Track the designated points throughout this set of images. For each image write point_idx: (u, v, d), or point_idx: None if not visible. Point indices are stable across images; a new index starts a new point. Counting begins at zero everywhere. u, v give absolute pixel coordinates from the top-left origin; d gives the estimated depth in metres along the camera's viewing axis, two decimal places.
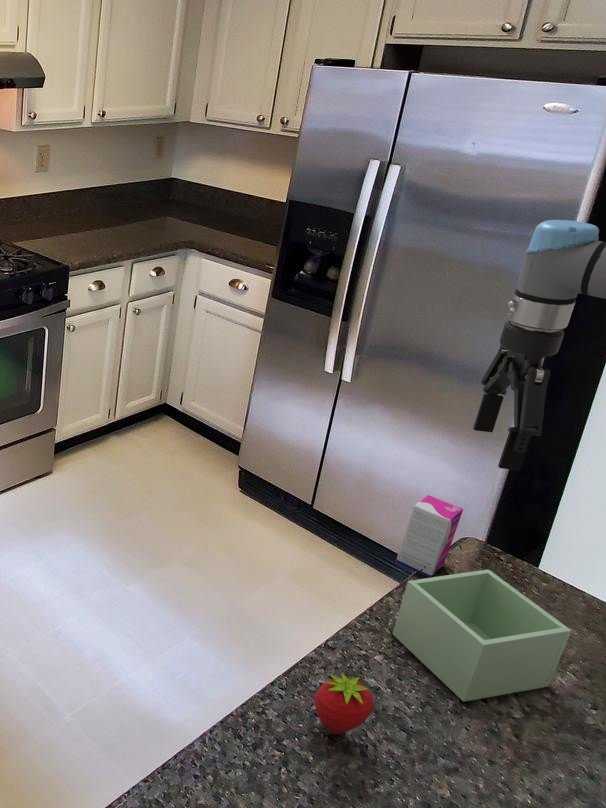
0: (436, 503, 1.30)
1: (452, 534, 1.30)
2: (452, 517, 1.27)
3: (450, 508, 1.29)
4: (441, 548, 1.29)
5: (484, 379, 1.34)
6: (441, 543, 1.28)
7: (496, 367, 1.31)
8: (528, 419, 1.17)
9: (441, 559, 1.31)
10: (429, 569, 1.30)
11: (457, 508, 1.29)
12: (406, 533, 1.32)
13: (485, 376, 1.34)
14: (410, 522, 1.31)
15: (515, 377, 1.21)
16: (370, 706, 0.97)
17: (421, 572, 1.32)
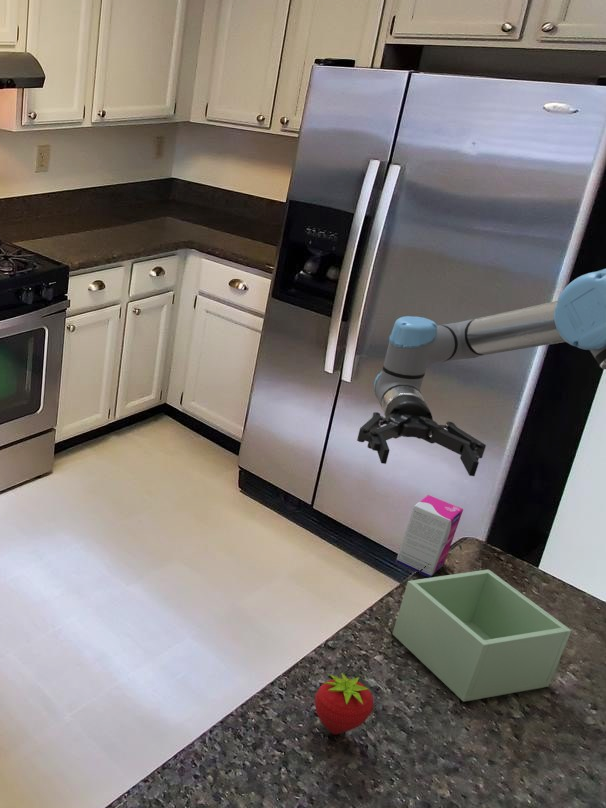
0: (436, 503, 1.30)
1: (452, 534, 1.30)
2: (452, 517, 1.27)
3: (450, 508, 1.29)
4: (441, 548, 1.29)
5: None
6: (441, 543, 1.28)
7: None
8: None
9: (441, 559, 1.31)
10: (429, 569, 1.30)
11: (457, 508, 1.29)
12: (406, 533, 1.32)
13: None
14: (410, 522, 1.31)
15: None
16: (370, 706, 0.97)
17: (421, 572, 1.32)
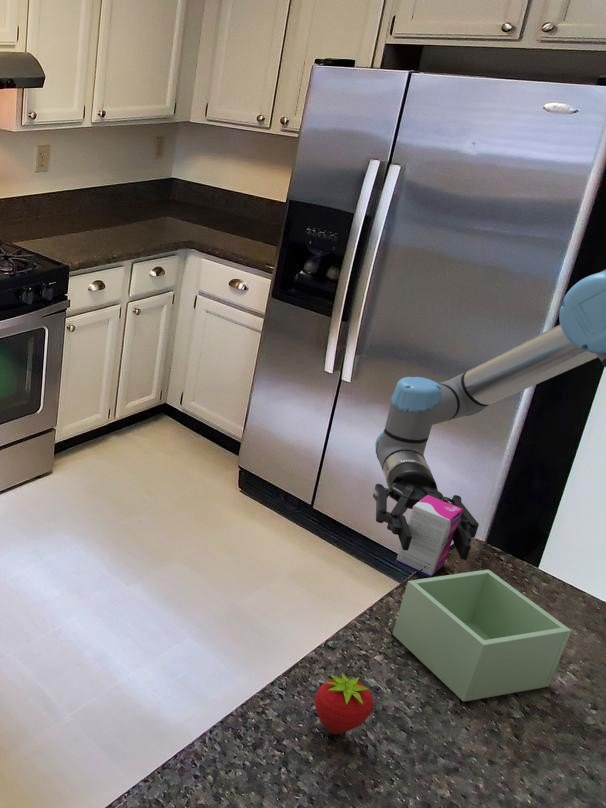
0: (435, 503, 1.30)
1: (452, 534, 1.30)
2: (452, 517, 1.27)
3: (450, 508, 1.29)
4: (441, 548, 1.29)
5: None
6: (441, 543, 1.28)
7: None
8: (376, 512, 1.38)
9: (441, 559, 1.31)
10: (429, 569, 1.30)
11: (457, 508, 1.29)
12: None
13: None
14: (410, 522, 1.31)
15: None
16: (370, 706, 0.97)
17: (421, 572, 1.32)
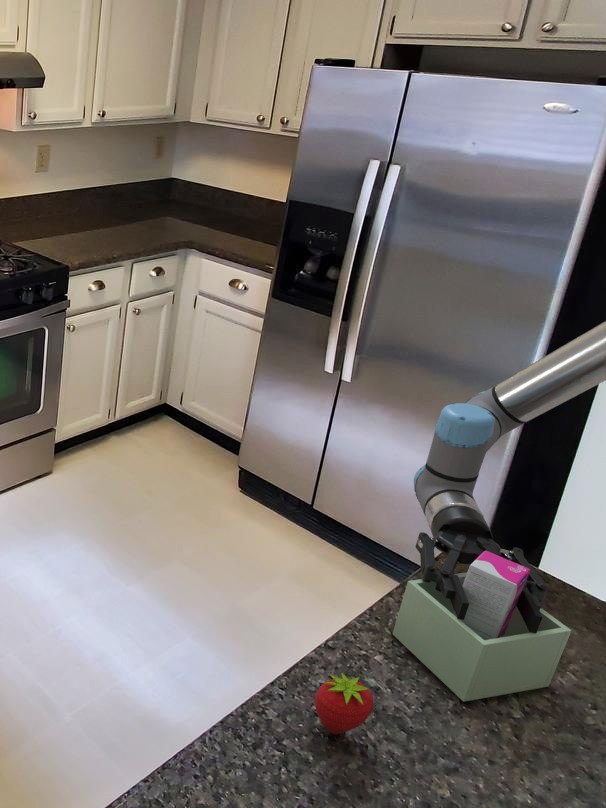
0: (496, 562, 1.08)
1: (516, 599, 1.08)
2: (518, 580, 1.04)
3: (515, 568, 1.07)
4: (504, 617, 1.06)
5: None
6: (504, 611, 1.05)
7: None
8: (422, 569, 1.15)
9: (503, 629, 1.09)
10: None
11: (523, 568, 1.07)
12: None
13: None
14: (465, 584, 1.08)
15: None
16: (370, 706, 0.97)
17: None
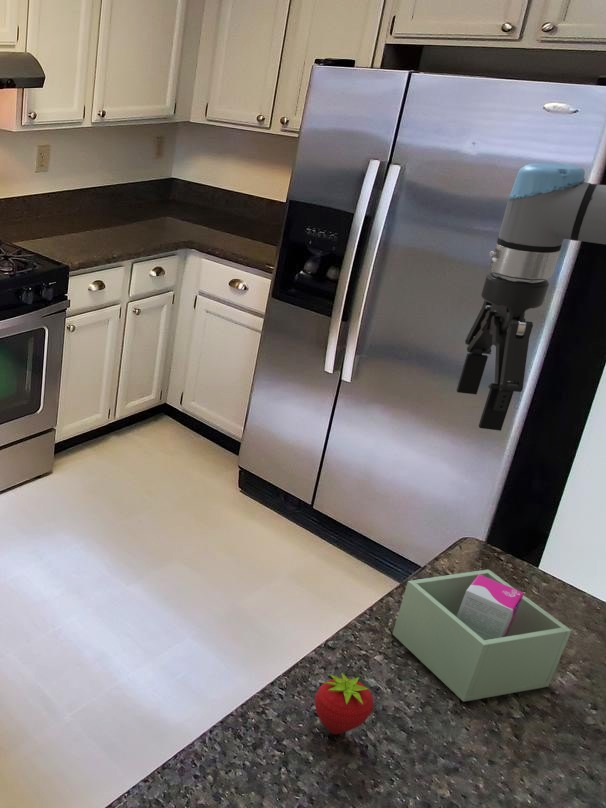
0: (491, 586, 1.09)
1: (511, 622, 1.09)
2: (514, 605, 1.06)
3: (509, 592, 1.08)
4: None
5: (468, 338, 1.27)
6: (501, 636, 1.07)
7: (480, 325, 1.24)
8: (509, 374, 1.11)
9: None
10: None
11: (517, 592, 1.08)
12: None
13: (469, 334, 1.27)
14: (461, 609, 1.10)
15: (497, 331, 1.15)
16: (370, 706, 0.97)
17: None
